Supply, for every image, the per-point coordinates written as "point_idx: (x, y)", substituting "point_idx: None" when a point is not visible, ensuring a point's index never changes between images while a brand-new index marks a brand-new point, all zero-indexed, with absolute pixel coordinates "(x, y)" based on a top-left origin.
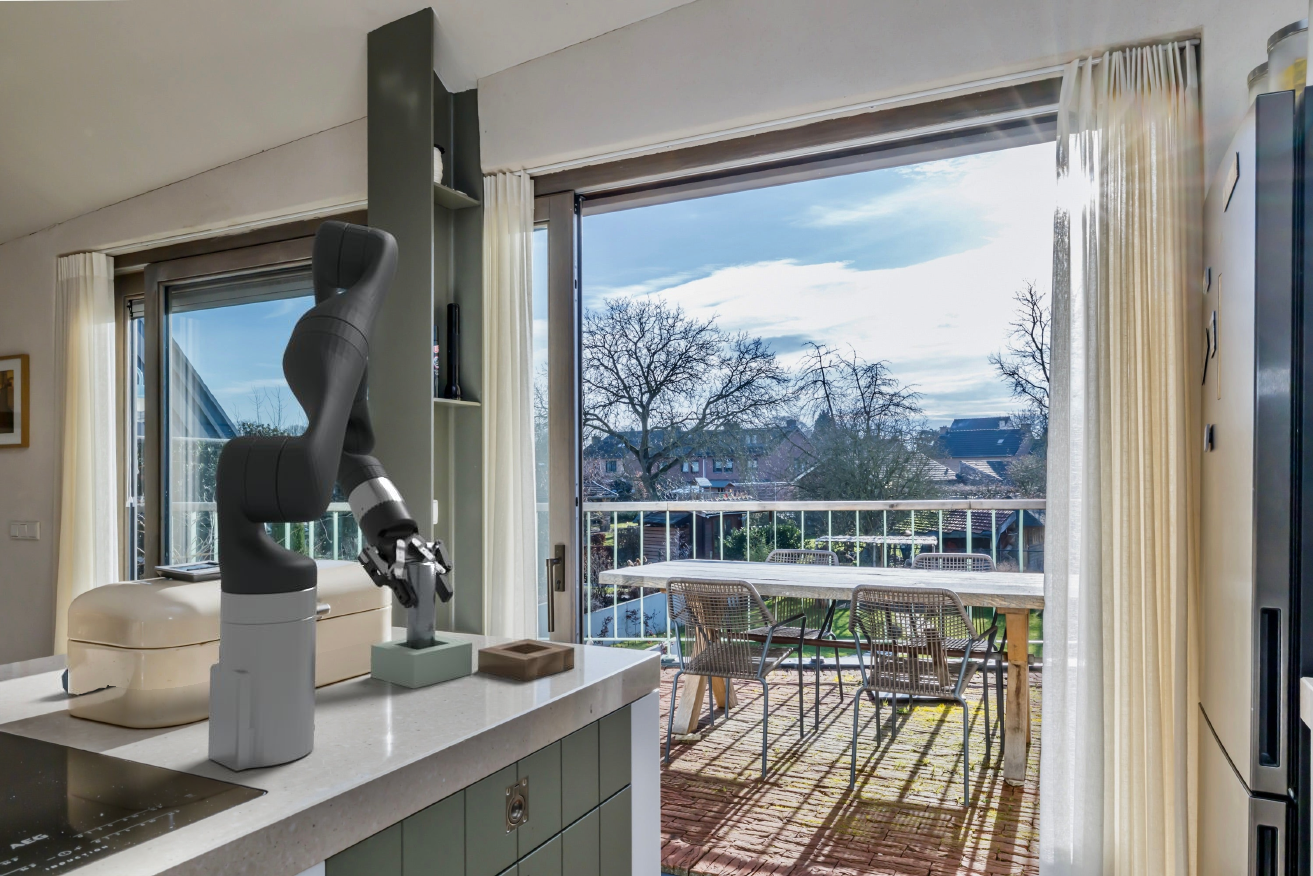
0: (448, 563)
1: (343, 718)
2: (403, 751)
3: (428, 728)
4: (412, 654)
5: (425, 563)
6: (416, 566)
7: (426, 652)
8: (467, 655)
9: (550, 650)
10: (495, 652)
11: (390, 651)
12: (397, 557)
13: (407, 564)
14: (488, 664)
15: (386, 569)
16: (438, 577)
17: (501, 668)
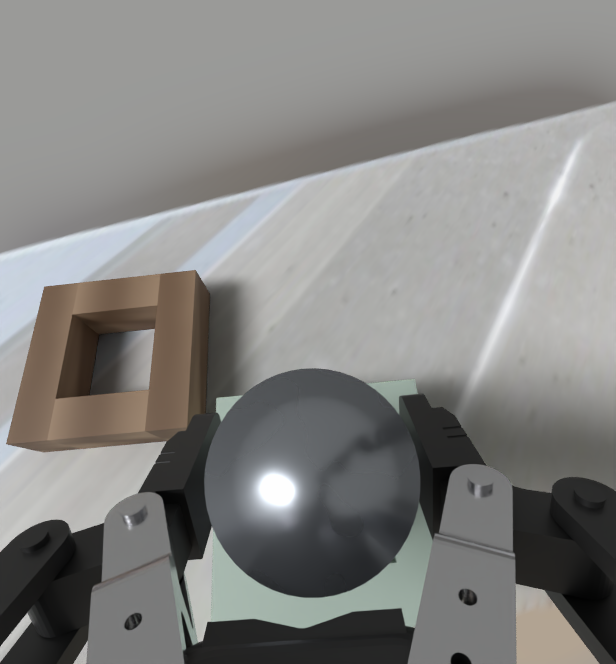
0: (18, 562)
1: (600, 315)
2: (557, 142)
3: (490, 191)
4: (415, 387)
5: (281, 459)
6: (390, 404)
7: (374, 383)
8: None
9: (95, 299)
10: (183, 369)
11: None
12: (503, 599)
13: (412, 516)
14: (200, 394)
15: (593, 526)
16: (188, 496)
17: (202, 352)
